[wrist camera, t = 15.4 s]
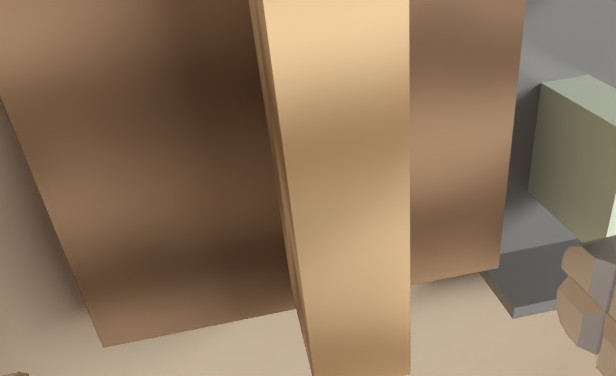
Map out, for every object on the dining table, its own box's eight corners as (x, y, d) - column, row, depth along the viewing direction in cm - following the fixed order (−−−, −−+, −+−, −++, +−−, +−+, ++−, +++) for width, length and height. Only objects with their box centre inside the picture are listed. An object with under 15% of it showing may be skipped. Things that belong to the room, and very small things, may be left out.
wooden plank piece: (372, 273, 21) (417, 372, 17) (291, 289, 21) (316, 394, 17) (348, -241, 13) (422, -301, 9) (214, -228, 13) (224, -284, 8)
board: (467, 228, 25) (498, 267, 22) (113, 296, 23) (103, 347, 21) (499, -279, 16) (558, -310, 13) (-81, -228, 14) (-143, -252, 11)
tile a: (527, 191, 24) (570, 183, 24) (600, 260, 19) (651, 249, 20) (541, 82, 21) (588, 74, 21) (629, 133, 17) (686, 123, 17)
